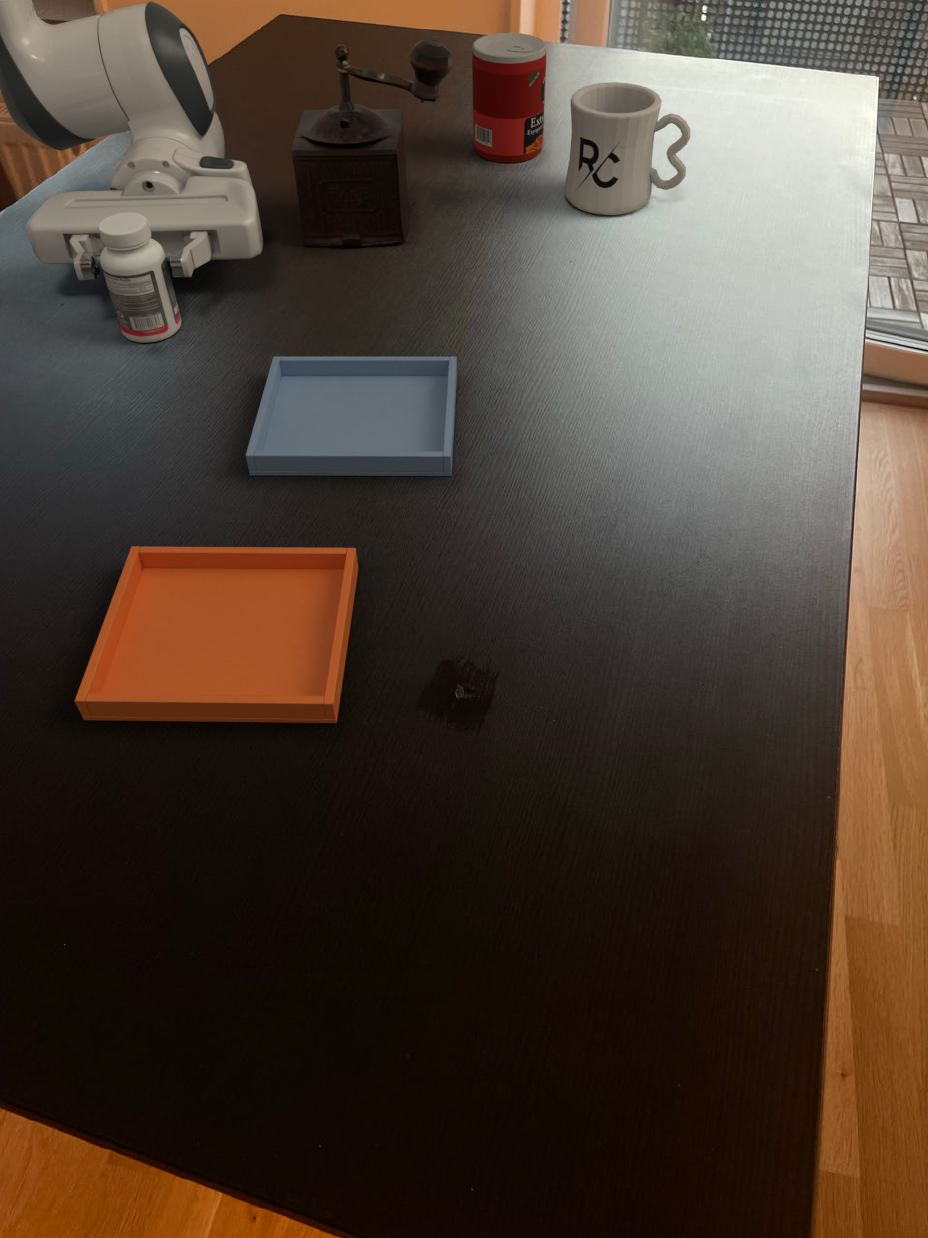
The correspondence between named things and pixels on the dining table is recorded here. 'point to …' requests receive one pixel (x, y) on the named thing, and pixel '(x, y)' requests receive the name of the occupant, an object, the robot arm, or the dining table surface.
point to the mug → (618, 148)
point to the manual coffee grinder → (360, 157)
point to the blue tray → (355, 417)
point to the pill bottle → (138, 279)
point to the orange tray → (224, 636)
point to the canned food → (508, 96)
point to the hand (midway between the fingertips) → (132, 270)
